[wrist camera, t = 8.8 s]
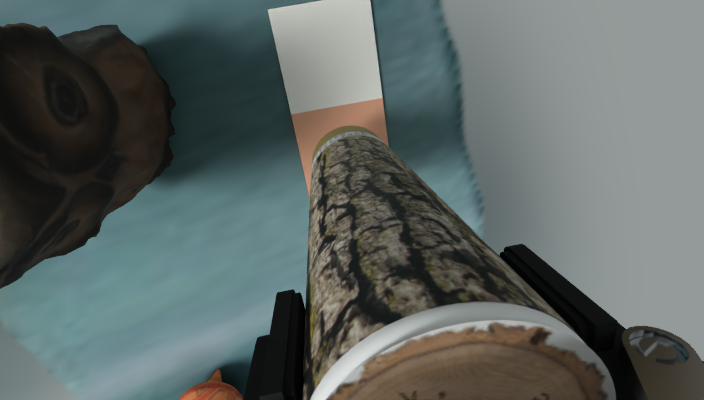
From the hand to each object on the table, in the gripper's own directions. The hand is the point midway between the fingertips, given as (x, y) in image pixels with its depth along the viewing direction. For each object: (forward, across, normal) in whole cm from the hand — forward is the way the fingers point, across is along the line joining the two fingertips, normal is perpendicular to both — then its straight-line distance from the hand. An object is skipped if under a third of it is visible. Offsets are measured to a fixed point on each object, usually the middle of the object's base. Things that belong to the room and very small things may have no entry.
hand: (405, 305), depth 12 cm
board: (+25, 0, -10) cm, 27 cm away
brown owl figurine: (+25, +21, -8) cm, 33 cm away
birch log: (+20, 0, 0) cm, 20 cm away
